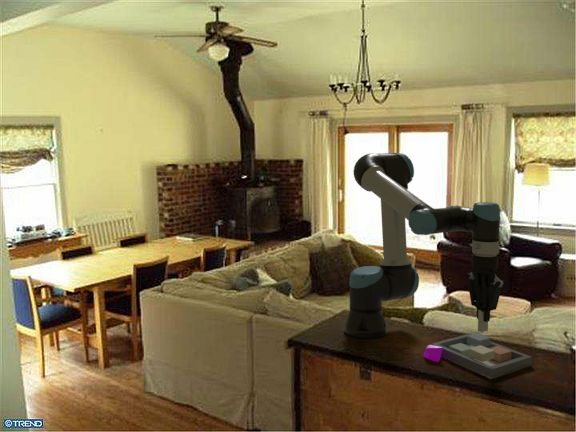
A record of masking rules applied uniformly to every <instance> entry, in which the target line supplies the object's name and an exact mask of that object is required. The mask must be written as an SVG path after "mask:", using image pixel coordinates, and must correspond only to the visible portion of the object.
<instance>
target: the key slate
mask: <svg viewBox="0 0 576 432" xmlns="http://www.w3.org/2000/svg"><path fill="white" fill-rule="evenodd" d="M471 334H472V335H469V336H467V344H470V345H472V346H475V347H476V346H480V345H481V346H484V347H486V346H489V345H491V342H492V340H491V337H490V336H487V335H484V334H482V333H479V332H477V333H471Z"/></svg>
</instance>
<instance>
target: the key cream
mask: <svg viewBox="0 0 576 432" xmlns="http://www.w3.org/2000/svg"><path fill="white" fill-rule="evenodd" d="M469 357H472V358H474V359H476V360H479V361H481V362H484V361H487V360H491V359H494V350H492V349H489V348H486V347H484V346H481V345H480V346H476V347H473V348H469Z"/></svg>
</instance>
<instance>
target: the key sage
mask: <svg viewBox="0 0 576 432" xmlns="http://www.w3.org/2000/svg"><path fill="white" fill-rule="evenodd" d="M469 348H472V347H470V346H467V345H465V344H462V343H458V344H455V345H451V346H449V349H451V350H453V351H456V352H458V353H461V354H463V355H465V356H468V357H469Z"/></svg>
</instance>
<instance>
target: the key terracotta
mask: <svg viewBox="0 0 576 432" xmlns="http://www.w3.org/2000/svg"><path fill="white" fill-rule="evenodd" d="M489 349H492V350H494V359H493V360H496V361H498V362H502V361H506V360H509V359H511V353H512V351H510V350H507V349H505V348H502V347H499V346H495V347H492V348H489Z"/></svg>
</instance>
